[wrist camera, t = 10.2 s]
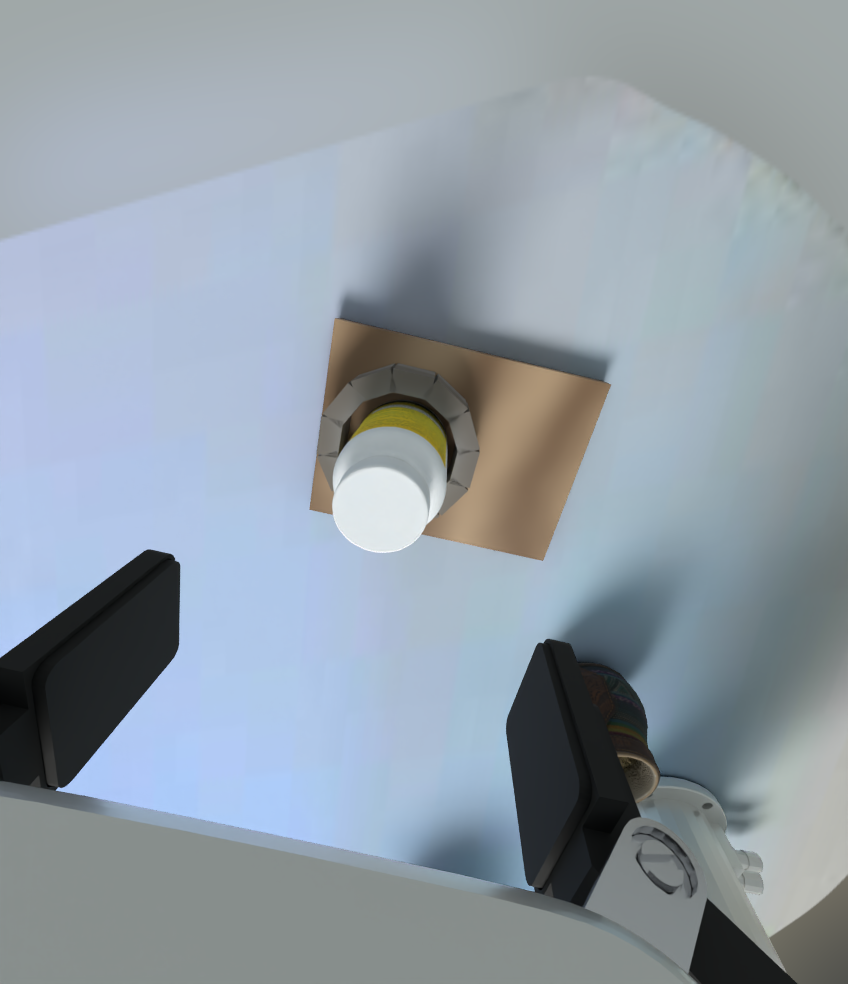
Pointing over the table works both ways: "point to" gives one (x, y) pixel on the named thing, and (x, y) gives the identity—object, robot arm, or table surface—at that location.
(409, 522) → the supplement bottle
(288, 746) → the table surface
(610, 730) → the mate gourd
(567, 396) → the collar board
